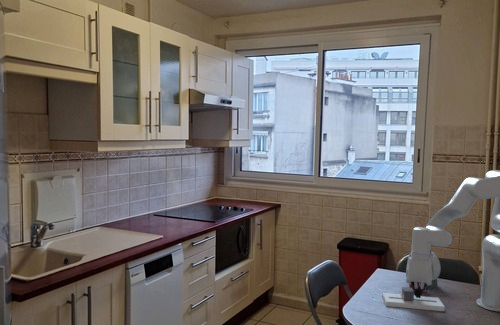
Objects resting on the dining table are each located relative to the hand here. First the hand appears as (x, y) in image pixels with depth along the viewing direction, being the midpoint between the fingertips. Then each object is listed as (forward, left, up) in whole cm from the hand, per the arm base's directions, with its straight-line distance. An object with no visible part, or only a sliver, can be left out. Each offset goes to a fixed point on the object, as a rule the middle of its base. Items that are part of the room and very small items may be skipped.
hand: (417, 296), depth 182 cm
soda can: (-4, -18, -4) cm, 19 cm away
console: (+2, 0, -4) cm, 4 cm away
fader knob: (+4, 0, -1) cm, 4 cm away
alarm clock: (-9, -29, -4) cm, 30 cm away
